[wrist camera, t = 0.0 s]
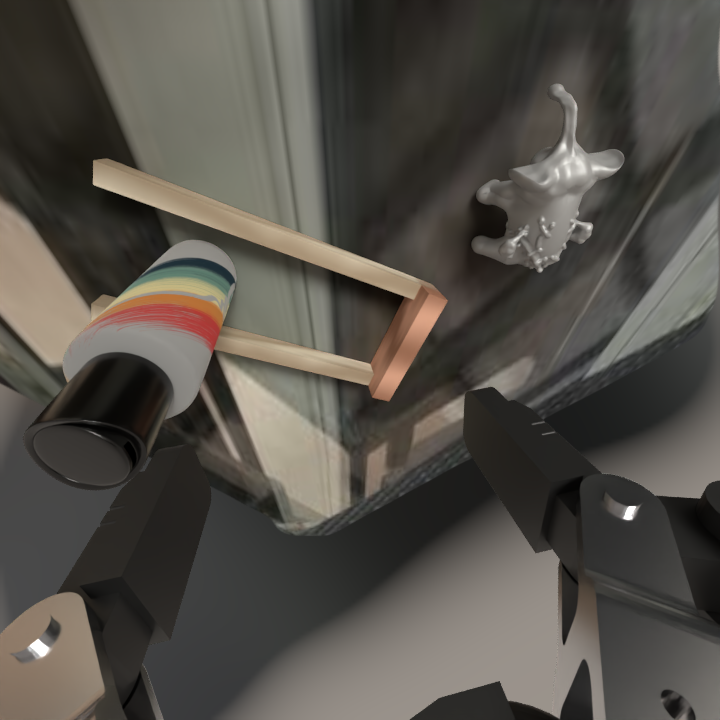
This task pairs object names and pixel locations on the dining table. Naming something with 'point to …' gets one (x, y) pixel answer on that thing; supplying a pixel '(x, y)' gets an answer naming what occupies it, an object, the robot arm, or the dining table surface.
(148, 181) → the guide lane
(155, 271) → the lotion bottle
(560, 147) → the elephant statuette
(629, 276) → the dining table surface
